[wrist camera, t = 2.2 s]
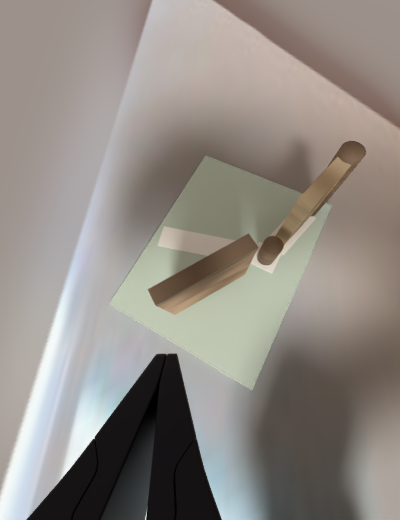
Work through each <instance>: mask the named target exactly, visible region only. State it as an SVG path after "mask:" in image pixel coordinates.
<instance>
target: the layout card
mask: <svg viewBox="0 0 400 520" xmlns="http://www.w3.org/2000/svg"><path fill="white" fill-rule="evenodd" d="M302 194H303V193H300V192H298V191H295V190H293V189H290V188H287V187H285V186H282V185H280V184H277V183H275V182H272V181H270V180H267V179H265V178H262V177H260V176H257V175H255V174H252V173H249V172H247V171H244V170H242V169H239V168H237V167H234V166H232V165H229V164H227V163H224V162H222V161H219V160H216V159H214V158H211V157H209V156H206V155H205V157H204V158H203V160H202V161H201V163H200V164H199V166H198V168H197V169H196V171H195V172H194V174H193V175H192V177H191V178H190V180H189V181H188V183H187V184H186V186H185V188H184V189H183V191H182V192H181V194H180V195H179V197H178V198H177V200H176V201H175V203H174V205H173V206H172V208H171V209H170V211H169V212H168V214H167V215H166V217H165V218H164V220H163V222H162V223H161V225H160V226H159V228H158V229H157V231H156V232H155V234H154V235H153V237H152V238H151V240H150V242H149V243H148V245H147V246H146V248H145V249H144V251H143V252H142V254H141V255H140V257H139V259H138V260H137V262H136V263H135V265H134V266H133V268H132V269H131V271H130V272H129V274H128V276H127V277H126V279H125V280H124V282H123V283H122V285H121V286H120V288H119V289H118V291H117V292H116V294H115V296H114V297H113V299H112V300H111V302H110V303H109V305H111V306H112V307H114V308H116V309H117V310H119V311H121V312H122V313H124V314H126V315H127V316H129V317H131V318H132V319H134V320H136V321H137V322H139V323H140V324H142V325H144V326H145V327H147V328H149V329H150V330H152V331H154V332H155V333H157V334H159V335H160V336H162V337H164V338H165V339H167V340H169V341H170V342H172V343H174V344H175V345H177V346H179V347H180V348H182V349H184V350H185V351H187V352H189V353H190V354H192V355H194V356H195V357H197V358H199V359H200V360H202V361H204V362H205V363H207V364H209V365H210V366H212V367H214V368H215V369H217V370H218V371H220V372H222V373H223V374H225V375H227V376H228V377H230V378H232V379H233V380H235V381H237V382H238V383H240V384H242V385H243V386H245V387H247V388H248V389H250V390H253V387H254V385H255V383H256V380H257V378H258V376H259V373H260V371H261V369H262V367H263V364H264V362H265V360H266V357H267V355H268V353H269V350H270V348H271V346H272V343H273V341H274V339H275V336H276V334H277V332H278V329H279V327H280V325H281V323H282V320H283V318H284V316H285V313H286V311H287V309H288V306H289V304H290V302H291V299H292V297H293V295H294V292H295V290H296V288H297V285H298V283H299V281H300V279H301V276H302V274H303V272H304V269H305V267H306V265H307V262H308V260H309V258H310V255H311V253H312V251H313V248H314V246H315V244H316V241H317V239H318V237H319V235H320V232H321V230H322V228H323V225H324V223H325V221H326V218H327V216H328V214H329V211H330V209H331V207H332V205H331V204H328V203H325V204H324V205H323V207H322V208H321V209H320V210H319V211H318V213H317V214H316V215H315V216H310V217H309V218H308V220H307V221H306V222H305V223H304V224H303V225H302V226H301V227H300V228H299V229H298V231H297V232H296V233H295V234H294V235H293V236H292V237H291V238H290V239H289V241H288V242H287V243H286V244H285V245H284V247H283V250H282V251H281V253H280V254H279V255H278V256H277V258H276V259H275V260H274V261H273V263H272V264H270V265H262V264H261V263H259V261H258V260H257V254H258V252H259V250H260V248H261V246H262V244H263V242H264V240H265V239H266V238H267V237H269V236H276V234H277V233H278V231H279V229H280V228H281V226H282V224H283V223H284V221H285V219H286V218H287V216H288V214H289V213H290V211H291V209H292V208H293V206H294V205H295V203H296V201H297V200H298V198H299V197H300V196H301V195H302ZM248 233H249V234H250V236H251V237H252V239H253V240H254V242H255V243H256V244H257V246H258V247H259V248H258V250H257V251H256V253H255V255H254V257H253V259H252V261H251V263H250V265H249V268H248V270H247V272H246V274H245V275H244V276H242V277H240V278H239V279H237V280H235V281H233V282H232V283H230V284H228V285H226V286H225V287H223V288H221V289H219V290H218V291H216V292H214V293H213V294H211V295H209V296H207V297H206V298H204V299H202V300H200V301H199V302H197V303H195V304H193V305H192V306H190V307H188V308H186V309H185V310H183V311H181V312H179V313H178V314H176V315H174V314H172V313H170V312H168V311H166V310H164V309H162V308H160V307H157V306H155V304H154V302H153V300H152V298H151V296H150V293H149V291H148V289H149V288H151V287H153V286H154V285H156V284H158V283H160V282H162V281H164V280H165V279H167V278H169V277H171V276H173V275H174V274H176V273H178V272H180V271H182V270H183V269H185V268H187V267H189V266H191V265H192V264H194V263H196V262H198V261H200V260H201V259H203V258H205V257H207V256H209V255H210V254H212V253H214V252H216V251H218V250H220V249H221V248H223V247H225V246H227V245H229V244H230V243H232V242H234V241H236V240H238V239H239V238H241V237H243V236H245V235H247V234H248Z"/></svg>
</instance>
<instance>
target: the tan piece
mask: <svg viewBox="0 0 400 520" xmlns="http://www.w3.org/2000/svg"><path fill="white" fill-rule="evenodd" d="M365 154H366V150H365V148H364V146H363V145H362V144H360V143H358V142H355V141H348V142H345V143H344V144H343V145H342V146H341V148H340V149H339V151H338V152H337V153H336V155H335V156H334V158H333V159H332V161H331V162H330V164H329V165H328V167H327V168H326V170H325V171H324V172H323V173H322V174H321V175H320V176H319V177H318V178H317V179H316V180H315V181H314V182H313V183H312V184H311V186H310V187H309V188H308V189H307V190H306V191H305V192H304V193H303V194H302V195H301V196H300V197H299V198H298V200H297V201H296V203H295V205H294V206H293V208H292V209H291V211H290V213H289V214H288V216H287V218H286V219H285V221H284V223H283V224H282V226H281V228H280V229H279V231H278V233H277V234H276V236H269V237H267V238H266V239H265V240H264V242H263V244H262V246H261V248H260V250H259V252H258V254H257V260H258V261H259V263H261V264H262V265H270V264H272V263H273V261H274V260H275V259H276V258H277V256H278V255H279V254H280V253H281V251H282V250H283V247H284V245H285V244H286V243H287V242H288V241H289V239H290V238H291V237H292V236H293V235H294V234H295V233H296V232H297V231H298V229H299V228H300V227H301V226H302V225H303V224H304V223H305V222H306V221H307V220H308V218H309V217H310V216H315V215H316V214H317V213H318V211H319V210H320V209H321V208H322V207H323V205H324V204H325V203H326V202H327V201H328V199H329V198H330V197H331V196H332V195H333V193H334V192H335V191H336V190H337V189H338V187H339V186H340V185H341V184H342V183H343V181H344V180H345V179H346V178H347V177H348V175H349V174H350V173H351V172H352V171H353V169H354V168H355V167H356V166H357V165H358V163H359V162H360V161H361V160H362V159H363V157H364V156H365Z"/></svg>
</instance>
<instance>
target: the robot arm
mask: <svg viewBox="0 0 400 520" xmlns="http://www.w3.org/2000/svg"><path fill="white" fill-rule="evenodd" d="M147 506H148V507H147ZM146 511H147V517H146V520H222V519H221V516H220V514H219V511H218V508H217V505H216V502H215V499H214V497H213V494H212V491H211V488H210V485H209V482H208V479H207V476H206V473H205V469H204V466H203V462H202V458H201V454H200V450H199V446H198V442H197V439H196V434H195V429H194V425H193V421H192V416H191V412H190V408H189V403H188V399H187V395H186V390H185V386H184V382H183V377H182V373H181V369H180V364H179V360H178V356H177V354H157V355H156V356H155V357H154V358H153V360H152V361H151V362H150V364H149V365H148V366H147V368H146V369H145V370H144V372H143V373H142V374H141V376H140V377H139V378H138V380H137V381H136V382H135V384H134V385H133V386H132V388H131V389H130V390H129V392H128V393H127V394H126V396H125V397H124V398H123V400H122V401H121V402H120V404H119V405H118V406H117V408H116V409H115V410H114V412H113V413H112V414H111V416H110V417H109V418H108V420H107V421H106V422H105V424H104V425H103V427H102V428H101V429H100V431H99V432H98V433H97V435H96V436H95V439H93V440H92V441H91V442H90V444H89V445H88V446H87V448H86V449H85V450H84V452H83V453H82V454H81V456H80V457H79V458H78V459H77V461H76V462H75V463H74V465H73V466H72V467H71V468H70V470H69V471H68V472H67V473H66V474H65V476H64V477H63V478H62V479H61V480H60V482H59V483H58V484H57V485H56V486H55V487H54V489H53V490H52V491H51V492H50V493H49V494H48V496H47V497H46V498H45V499H44V500H43V501H42V502H41V504H40V505H39V506H38V507H37V508H36V509H35V510H34V512H33V513H32V514H31V515H30V516H29V517H28V518H27V520H145V516H146Z"/></svg>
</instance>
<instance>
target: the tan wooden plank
mask: <svg viewBox="0 0 400 520" xmlns="http://www.w3.org/2000/svg"><path fill="white" fill-rule="evenodd" d="M258 248H259V247H258V246H257V244H256V243H255V242H254V240H253V239H252V237H251V236H250V234H249V233H248V234H247V235H245V236H243V237H241V238H239V239H238V240H236V241H234V242H232V243H230V244H229V245H227V246H225V247H223V248H221V249H220V250H218V251H216V252H214V253H212V254H210V255H209V256H207V257H205V258H203V259H201V260H200V261H198V262H196V263H194V264H192V265H191V266H189V267H187V268H185V269H183V270H182V271H180V272H178V273H176V274H174V275H173V276H171V277H169V278H167V279H165V280H164V281H162V282H160V283H158V284H156V285H154V286H153V287H151V288H149V289H148V291H149V293H150V296H151V298H152V300H153V302H154V304H155V306H157V307H160V308H162V309H164V310H166V311H168V312H170V313H172V314H174V315H176V314H178V313H179V312H181V311H183V310H185V309H186V308H188V307H190V306H192V305H193V304H195V303H197V302H199V301H200V300H202V299H204V298H206V297H207V296H209V295H211V294H213V293H214V292H216V291H218V290H219V289H221V288H223V287H225V286H226V285H228V284H230V283H232V282H233V281H235V280H237V279H239V278H240V277H242V276H244V275H245V274H246V272H247V270H248V268H249V265H250V263H251V261H252V259H253V257H254V255H255V253H256V251H257V250H258Z"/></svg>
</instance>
